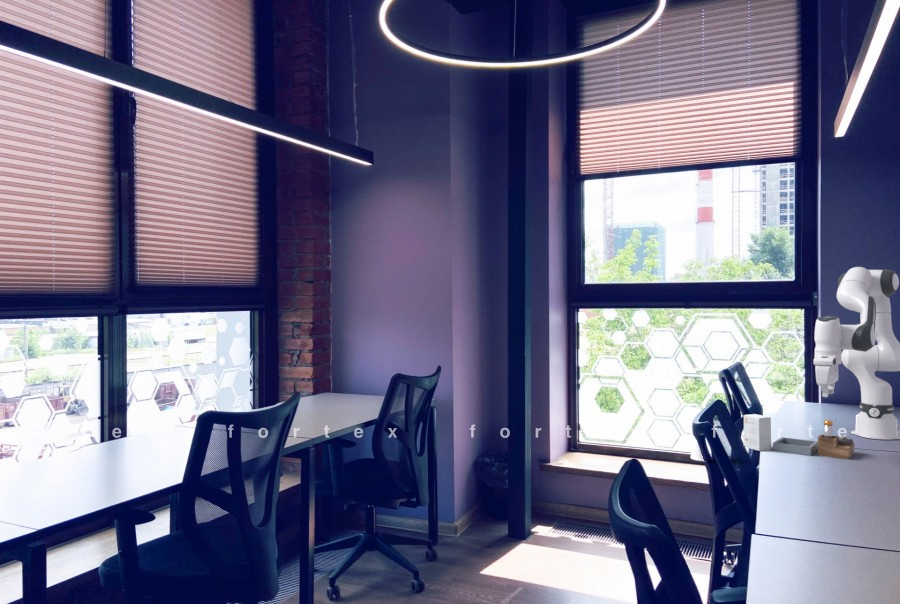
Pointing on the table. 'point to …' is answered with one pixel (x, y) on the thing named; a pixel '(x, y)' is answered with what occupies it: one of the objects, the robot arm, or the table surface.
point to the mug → (695, 449)
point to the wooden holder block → (835, 447)
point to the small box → (757, 432)
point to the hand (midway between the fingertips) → (828, 395)
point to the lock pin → (828, 429)
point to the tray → (795, 446)
